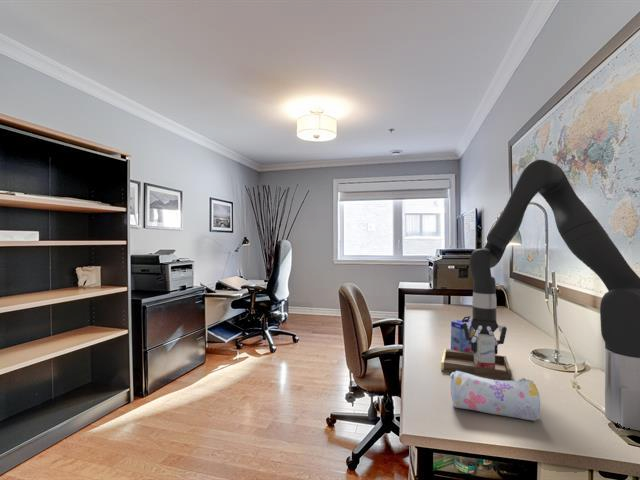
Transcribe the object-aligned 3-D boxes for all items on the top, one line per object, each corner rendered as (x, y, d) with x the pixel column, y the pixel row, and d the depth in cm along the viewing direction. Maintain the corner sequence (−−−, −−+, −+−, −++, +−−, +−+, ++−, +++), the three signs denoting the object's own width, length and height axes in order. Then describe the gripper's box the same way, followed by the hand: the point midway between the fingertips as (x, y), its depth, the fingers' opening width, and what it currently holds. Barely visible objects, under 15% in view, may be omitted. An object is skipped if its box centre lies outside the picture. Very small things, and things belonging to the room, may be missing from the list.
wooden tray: (511, 382, 104) (511, 372, 104) (441, 371, 113) (441, 362, 113) (505, 364, 119) (505, 356, 119) (444, 356, 127) (444, 348, 127)
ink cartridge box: (461, 355, 129) (461, 318, 129) (449, 350, 134) (449, 315, 134) (478, 351, 133) (478, 315, 133) (466, 347, 138) (466, 313, 138)
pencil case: (533, 410, 87) (533, 374, 87) (544, 428, 79) (544, 388, 79) (448, 398, 93) (448, 365, 93) (451, 414, 85) (451, 377, 85)
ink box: (495, 371, 110) (495, 336, 110) (479, 370, 111) (479, 335, 111) (488, 362, 118) (488, 330, 118) (473, 361, 119) (473, 329, 119)
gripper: (461, 305, 114) (461, 354, 114) (509, 309, 108) (509, 360, 108) (462, 302, 121) (462, 347, 121) (506, 305, 115) (506, 353, 115)
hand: (484, 353), depth 115 cm, fingers closed on ink box, 5 cm apart
